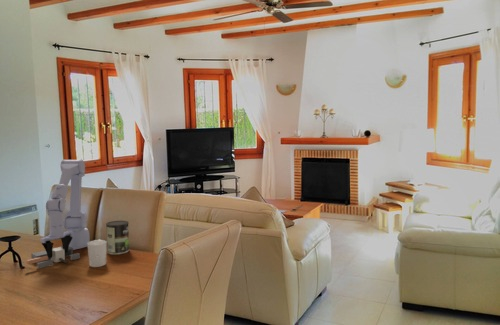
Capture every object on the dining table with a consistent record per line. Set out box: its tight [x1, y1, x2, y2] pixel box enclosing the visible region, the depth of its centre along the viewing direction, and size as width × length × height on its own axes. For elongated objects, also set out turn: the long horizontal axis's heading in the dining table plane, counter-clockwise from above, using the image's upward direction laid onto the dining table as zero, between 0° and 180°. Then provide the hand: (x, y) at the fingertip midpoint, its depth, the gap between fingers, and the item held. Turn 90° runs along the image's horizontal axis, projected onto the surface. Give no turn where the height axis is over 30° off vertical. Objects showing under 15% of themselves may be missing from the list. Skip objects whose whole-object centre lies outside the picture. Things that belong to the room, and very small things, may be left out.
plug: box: [51, 246, 69, 264], centre depth 178 cm, size 5×11×5 cm, turn 49°
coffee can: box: [105, 220, 130, 256], centre depth 193 cm, size 10×10×14 cm
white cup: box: [87, 239, 107, 268], centre depth 174 cm, size 8×8×10 cm
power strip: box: [30, 245, 81, 270], centre depth 181 cm, size 18×13×4 cm
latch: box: [26, 256, 48, 265], centre depth 170 cm, size 8×1×2 cm, turn 139°
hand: (57, 254), depth 180 cm, fingers open, 7 cm apart
